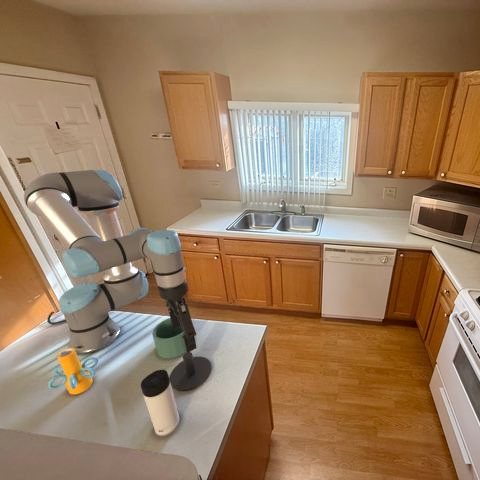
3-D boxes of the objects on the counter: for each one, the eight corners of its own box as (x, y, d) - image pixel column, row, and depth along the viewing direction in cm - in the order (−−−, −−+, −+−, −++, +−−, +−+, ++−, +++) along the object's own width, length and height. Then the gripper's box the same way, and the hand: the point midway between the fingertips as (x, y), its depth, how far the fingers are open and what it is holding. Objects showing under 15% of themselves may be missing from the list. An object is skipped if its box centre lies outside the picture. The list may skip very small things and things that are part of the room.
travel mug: (164, 442, 70) (149, 393, 62) (150, 429, 73) (134, 380, 65) (185, 422, 75) (173, 374, 67) (171, 410, 78) (159, 363, 70)
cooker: (153, 345, 100) (148, 326, 97) (186, 330, 109) (183, 312, 105) (162, 364, 92) (157, 345, 89) (197, 347, 101) (194, 328, 97)
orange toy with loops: (112, 372, 89) (99, 340, 83) (88, 401, 79) (72, 367, 73) (75, 372, 88) (60, 339, 82) (46, 401, 78) (27, 366, 72)
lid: (164, 373, 89) (159, 353, 86) (203, 352, 98) (200, 334, 95) (177, 400, 81) (172, 380, 77) (218, 375, 90) (215, 356, 86)
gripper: (201, 296, 69) (211, 354, 77) (172, 262, 85) (183, 313, 93) (171, 307, 64) (185, 368, 72) (146, 269, 80) (160, 322, 88)
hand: (184, 337), depth 83 cm, fingers open, 13 cm apart
